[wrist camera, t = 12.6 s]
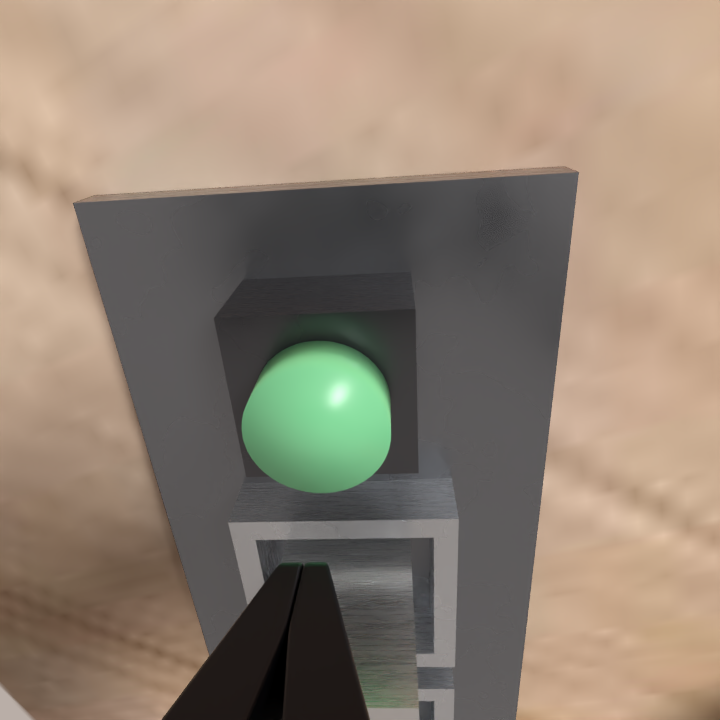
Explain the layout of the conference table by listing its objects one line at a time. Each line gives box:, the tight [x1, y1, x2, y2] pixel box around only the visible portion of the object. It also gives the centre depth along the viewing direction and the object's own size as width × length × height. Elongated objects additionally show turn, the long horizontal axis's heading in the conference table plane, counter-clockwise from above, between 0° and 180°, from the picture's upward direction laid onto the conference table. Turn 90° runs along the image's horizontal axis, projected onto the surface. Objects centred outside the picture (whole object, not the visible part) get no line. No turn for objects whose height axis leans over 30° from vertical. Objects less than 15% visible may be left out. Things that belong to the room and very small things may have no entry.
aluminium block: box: [281, 538, 419, 720], centre depth 18 cm, size 4×4×7 cm
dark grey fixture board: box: [73, 167, 579, 720], centre depth 20 cm, size 28×14×4 cm, turn 4°
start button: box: [242, 341, 391, 493], centre depth 13 cm, size 4×4×2 cm
